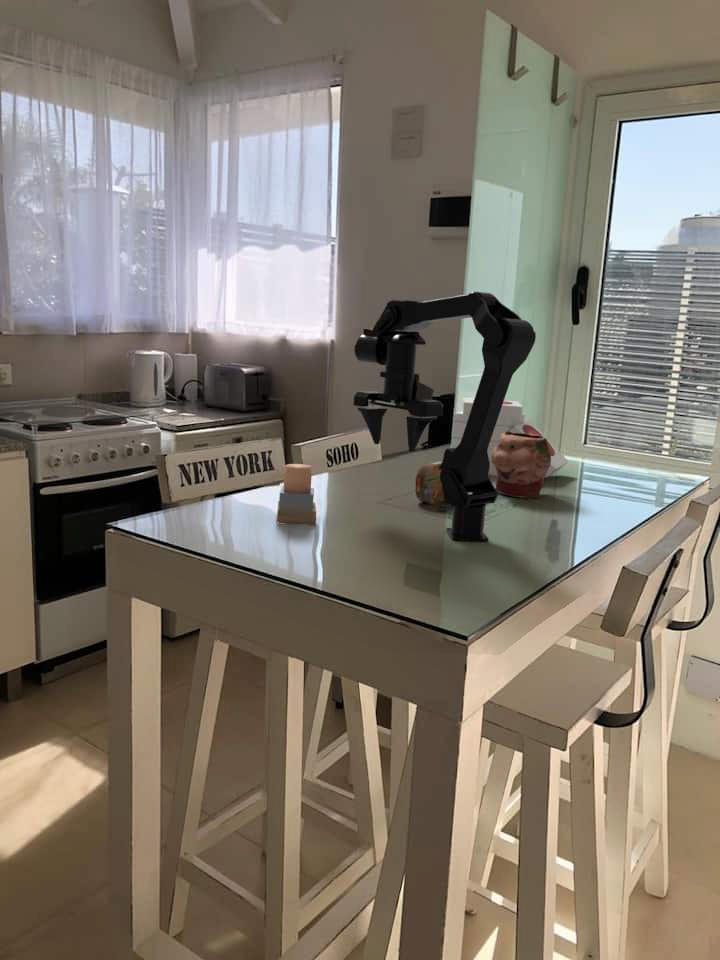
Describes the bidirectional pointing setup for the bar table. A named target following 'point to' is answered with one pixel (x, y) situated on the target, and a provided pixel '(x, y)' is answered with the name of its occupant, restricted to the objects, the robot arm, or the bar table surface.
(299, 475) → the peach rounded block
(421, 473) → the tin
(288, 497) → the slate block
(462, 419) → the pizza boxes
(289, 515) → the walnut block
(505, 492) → the decorative planter
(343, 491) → the bar table surface
